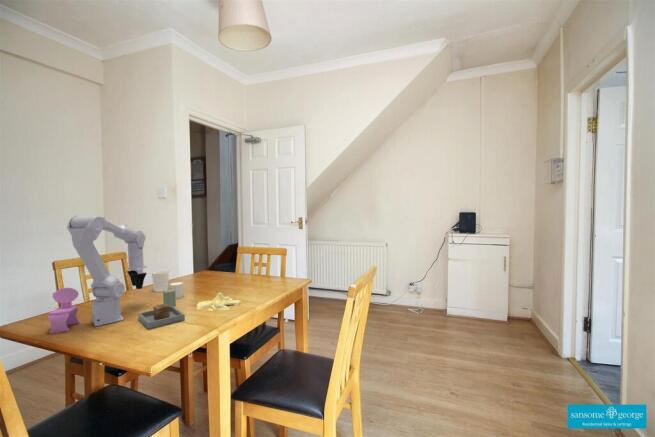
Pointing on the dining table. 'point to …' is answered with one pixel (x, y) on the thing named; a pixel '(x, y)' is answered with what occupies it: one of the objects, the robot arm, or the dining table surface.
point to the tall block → (169, 297)
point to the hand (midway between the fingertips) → (137, 287)
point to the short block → (161, 311)
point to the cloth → (218, 303)
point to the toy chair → (64, 310)
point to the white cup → (160, 281)
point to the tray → (151, 323)
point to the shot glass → (177, 289)
